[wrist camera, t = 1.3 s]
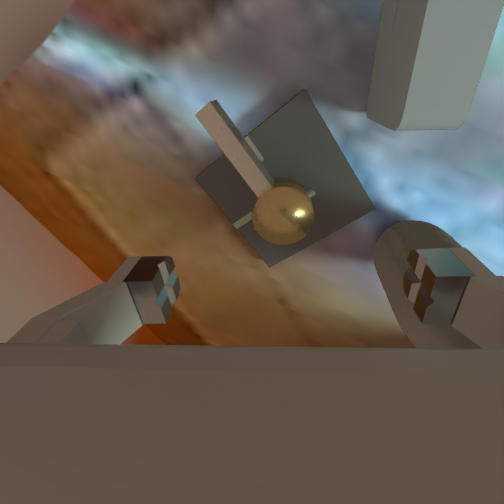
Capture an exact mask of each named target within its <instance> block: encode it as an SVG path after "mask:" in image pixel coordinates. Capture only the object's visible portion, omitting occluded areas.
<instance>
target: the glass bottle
mask: <svg viewBox="0 0 504 504" xmlns="http://www.w3.org/2000/svg"><path fill="white" fill-rule="evenodd" d="M454 247H462V246H461V245H460V244H458V243H457V242H456V241H455V240H454V239H453V238H452V237H451V236H450V235H449V234H447V233H446V232H445V231H443V230H442V229H440V228H439V227H437V226H435V225H433V224H430V223H427V222H423V221H413V220H412V221H402V222H398V223H395V224H393V225H392V226H390V227H389V228H388V229H386V230H385V231H384V232H383V233H382V234H381V235H380V237H379V238H378V240H377V242H376V244H375V247H374V264H375V268H376V271H377V274H378V276H379V278H380V281H381V283H382V285H383V288H384V290H385V292H386V295H387V297H388V300H389V303H390V305H391V307H392V310H393V312H394V314H395V316H396V319H397V321H398V323H399V325H400V326H401V328H402V330H403V331H404V333H405V334H406V336H407V337H408V338H409V340H410V341H411V342H412V344H413V345H414V346H415V347H416V348H445V349H482V348H481V347H480V346H478V345H477V344H476V343H474V342H473V341H471V340H470V339H469V338H467V337H466V336H465V335H463V334H462V333H461V332H459V331H458V330H456V329H455V328H454V327H452V325H443V324H422V323H421V321H420V320H419V318H418V316H417V315H416V313H415V311H414V309H413V308H414V304H415V303H413V302H411V301H410V300H408V299H407V297H406V295H405V292H404V289H403V277H404V272H405V271H406V270H407V269H408V268H409V267H411V266H410V264H409V263H408V261H407V259H408V255H409V253H410V251H411V250H418V249H437V248H454Z"/></svg>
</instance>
